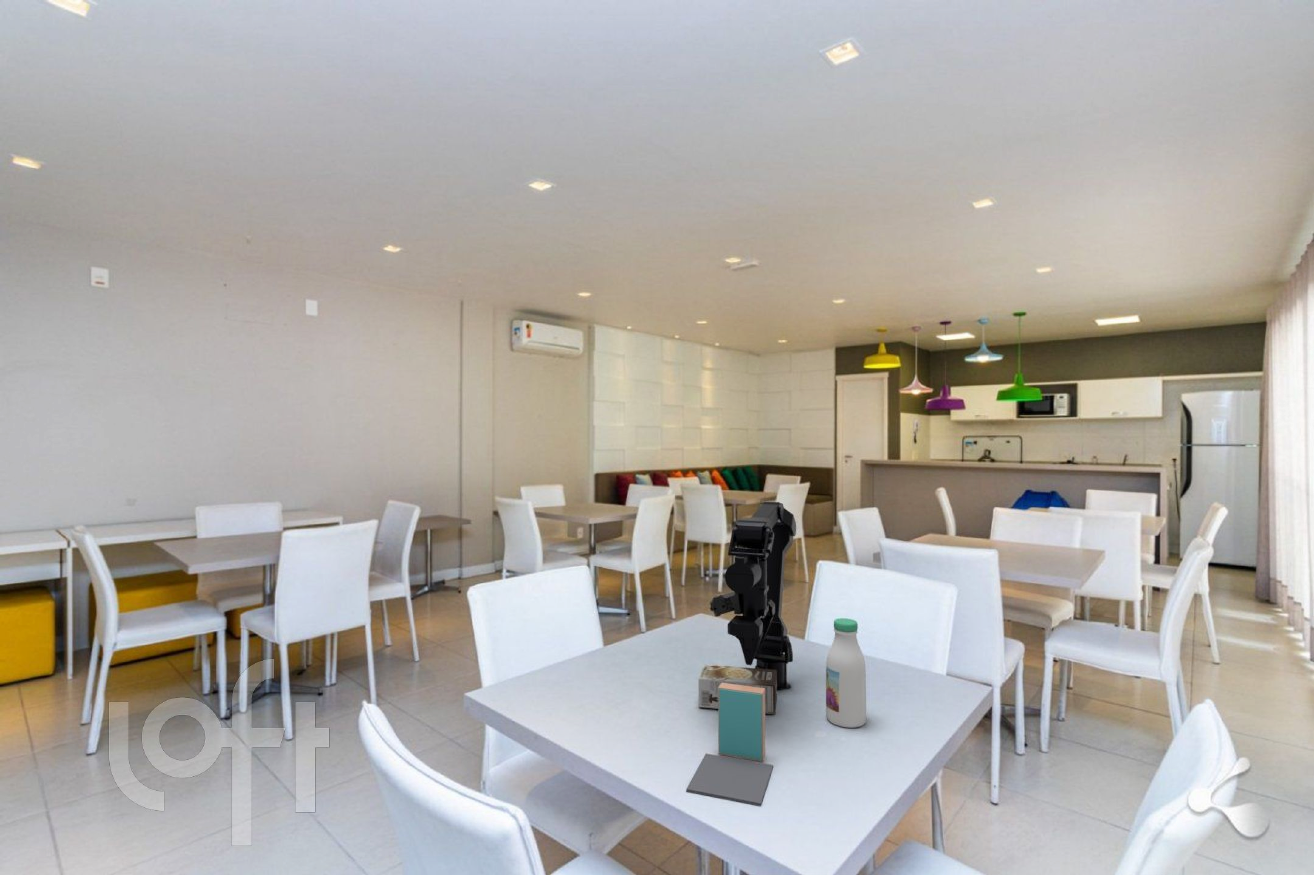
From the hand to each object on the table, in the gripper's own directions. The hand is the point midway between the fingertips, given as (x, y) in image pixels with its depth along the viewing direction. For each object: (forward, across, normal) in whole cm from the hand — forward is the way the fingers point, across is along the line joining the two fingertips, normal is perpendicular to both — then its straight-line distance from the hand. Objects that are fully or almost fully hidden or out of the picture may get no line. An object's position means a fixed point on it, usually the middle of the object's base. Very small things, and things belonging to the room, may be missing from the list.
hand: (752, 658), depth 127 cm
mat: (+12, +24, +1) cm, 27 cm away
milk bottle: (+12, -5, +18) cm, 22 cm away
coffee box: (+9, -4, -12) cm, 16 cm away
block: (+12, +16, +1) cm, 20 cm away
